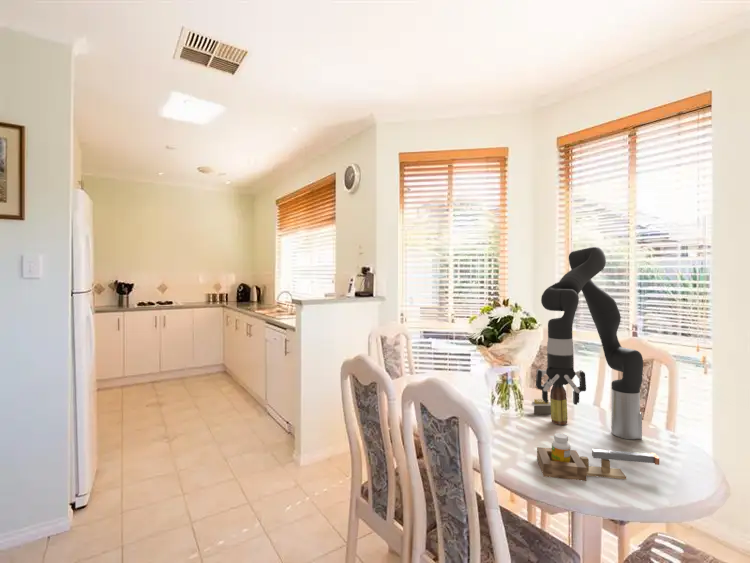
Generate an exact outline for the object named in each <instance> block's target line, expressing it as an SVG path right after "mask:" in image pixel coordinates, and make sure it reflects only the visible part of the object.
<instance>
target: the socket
mask: <svg viewBox="0 0 750 563" xmlns="http://www.w3.org/2000/svg"><path fill="white" fill-rule="evenodd" d="M580 456H581V455H580V454H579V453H578V451H577V450H576V449H570V463H569V462H558V461H551V459H552V447H541V446H537V447H536V460H537V462H538V465H539V468H540V471H541V474H542V476H543V477H544V478H554V479H562V480H563V479H564V480H574V481H581V480H582V481H583V482H587V476H586V466H585V465H584V463H583V461H582V460H581V458H580Z"/></svg>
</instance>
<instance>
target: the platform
mask: <svg viewBox="0 0 750 563" xmlns="http://www.w3.org/2000/svg"><path fill="white" fill-rule="evenodd" d="M531 406H533V415H551V401H550V400H549V399H548V403H545V402H544V401H543V399H542V398H534V401H531Z"/></svg>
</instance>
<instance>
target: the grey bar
mask: <svg viewBox="0 0 750 563" xmlns="http://www.w3.org/2000/svg"><path fill="white" fill-rule="evenodd" d="M591 456H592V457H593V459H609V460H610V461H611V460H612V461H622V462H634V463H646V464H647V463H648V464H654V465H656V466H660V457H659V456H658V455H657V454H656V453H655V452H650V453H648V452H645V453H644V452H635V451H624V450H623V451H622V450H611V449H599V448H597V449H596V448H592V449H591Z"/></svg>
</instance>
